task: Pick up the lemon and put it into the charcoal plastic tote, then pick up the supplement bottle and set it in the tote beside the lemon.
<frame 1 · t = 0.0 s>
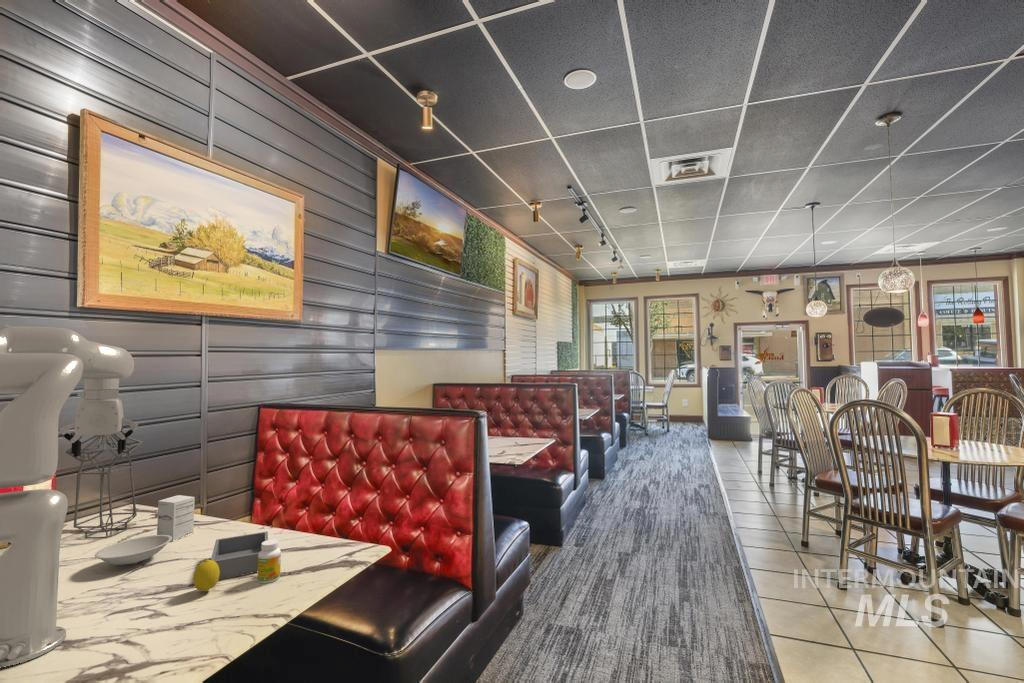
hand: (99, 454, 132), 31 cm above the table, tool pointing down, fingers open, 9 cm apart
lemon: (206, 592, 115), on the table
dish: (134, 563, 131), on the table
supplement bottle: (268, 579, 121), on the table
tote: (240, 563, 131), on the table
geometric lantern: (102, 534, 154), on the table
supplement box: (175, 537, 151), on the table
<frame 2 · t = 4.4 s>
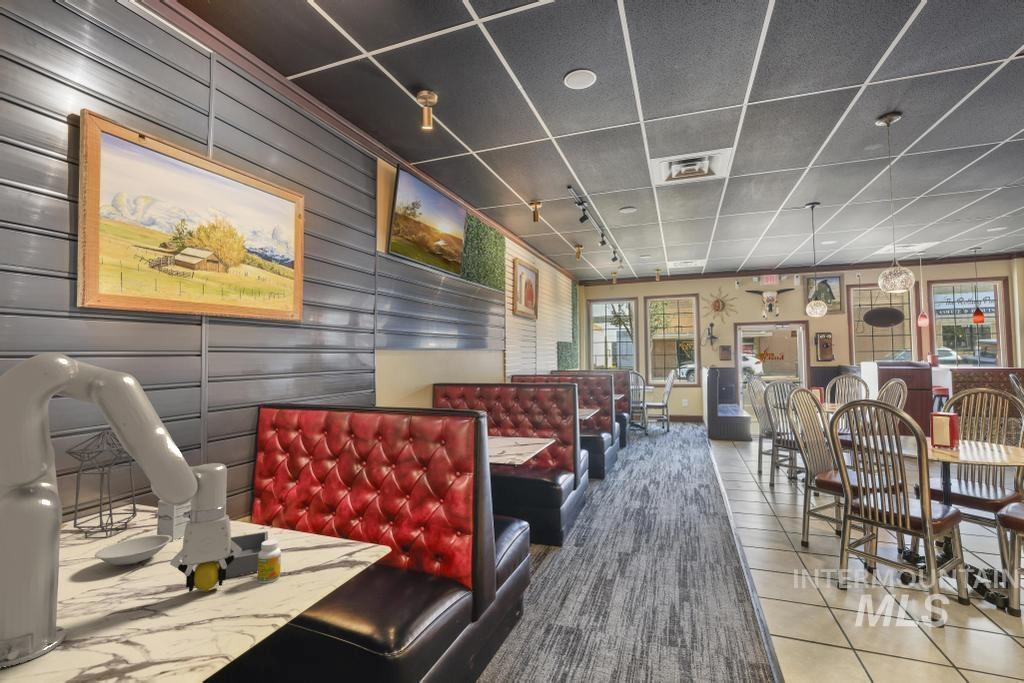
hand: (206, 585, 115), 2 cm above the table, tool pointing down, fingers closed on lemon, 5 cm apart
lemon: (206, 592, 115), on the table, touching gripper
everything else where it was.
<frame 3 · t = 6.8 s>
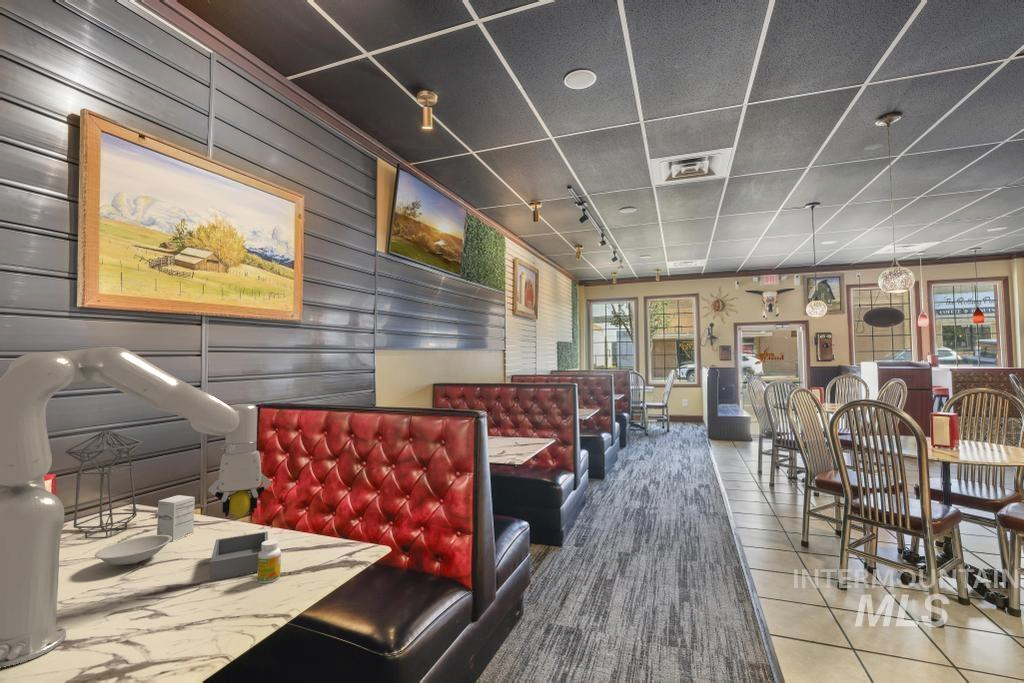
hand: (240, 512, 127), 16 cm above the table, tool pointing down, fingers closed on lemon, 5 cm apart
lemon: (239, 518, 127), point 14 cm above the table, touching gripper
everything else where it was.
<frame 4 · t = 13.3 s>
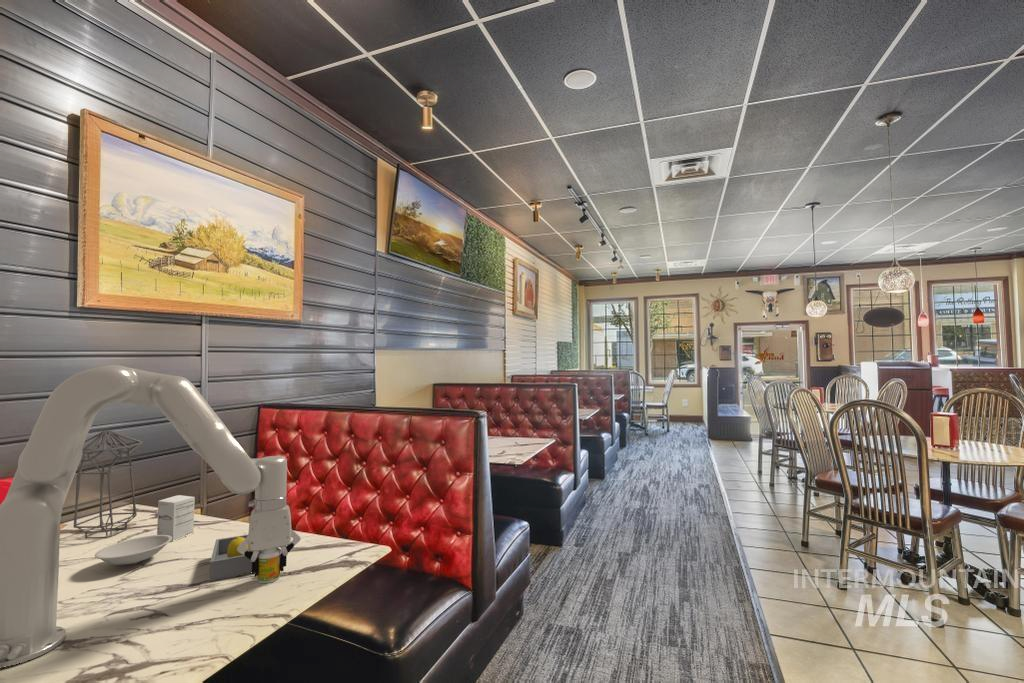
hand: (269, 571, 121), 2 cm above the table, tool pointing down, fingers closed on supplement bottle, 5 cm apart
lemon: (239, 566, 127), point 1 cm above the table, touching tote
supplement bottle: (268, 579, 121), on the table, touching gripper
everything else where it was.
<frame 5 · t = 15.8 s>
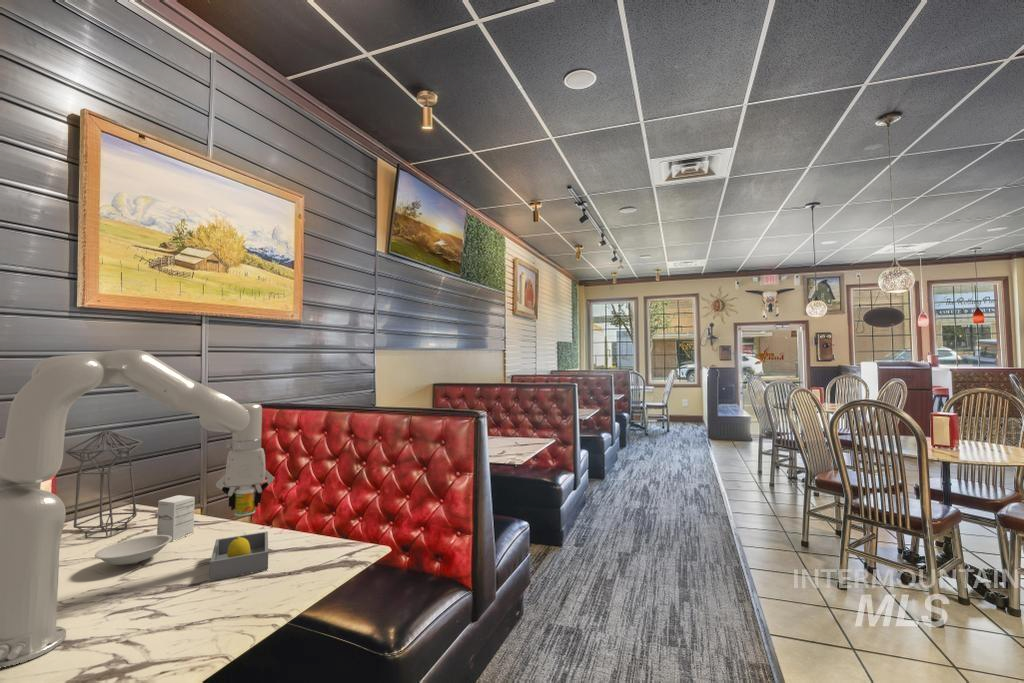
hand: (244, 506, 134), 15 cm above the table, tool pointing down, fingers closed on supplement bottle, 5 cm apart
supplement bottle: (244, 514, 134), point 13 cm above the table, touching gripper
everything else where it was.
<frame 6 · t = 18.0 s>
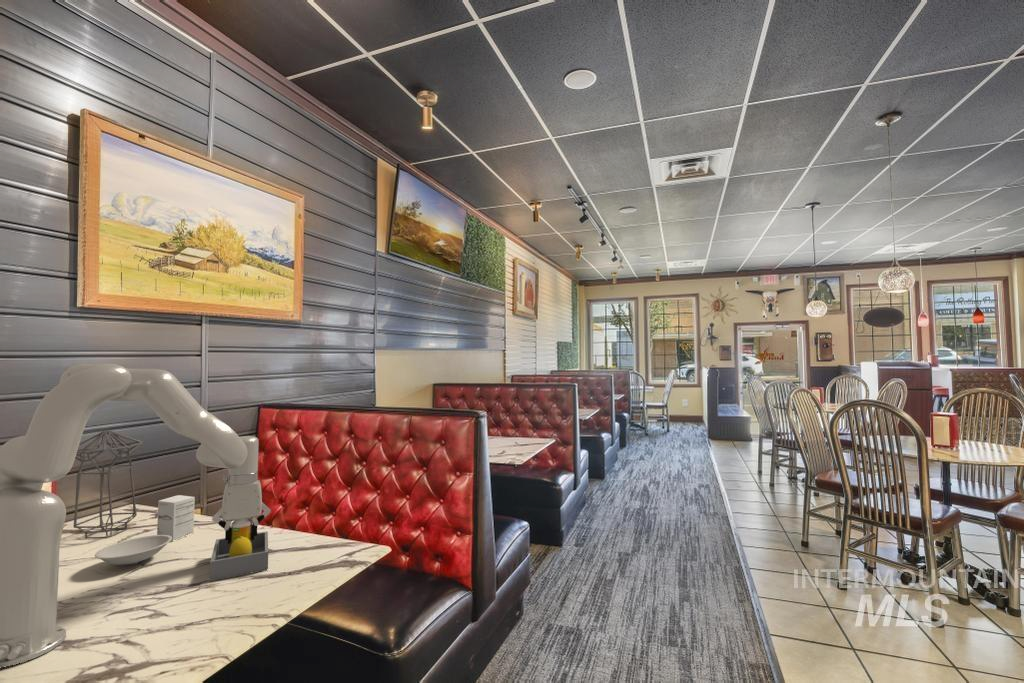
hand: (241, 539, 135), 5 cm above the table, tool pointing down, fingers closed on supplement bottle, 5 cm apart
supplement bottle: (241, 547, 135), point 3 cm above the table, touching gripper
everything else where it was.
when the fingers open (5 cm above the table, at t = 18.3 s): supplement bottle drops 2 cm, resting on tote.
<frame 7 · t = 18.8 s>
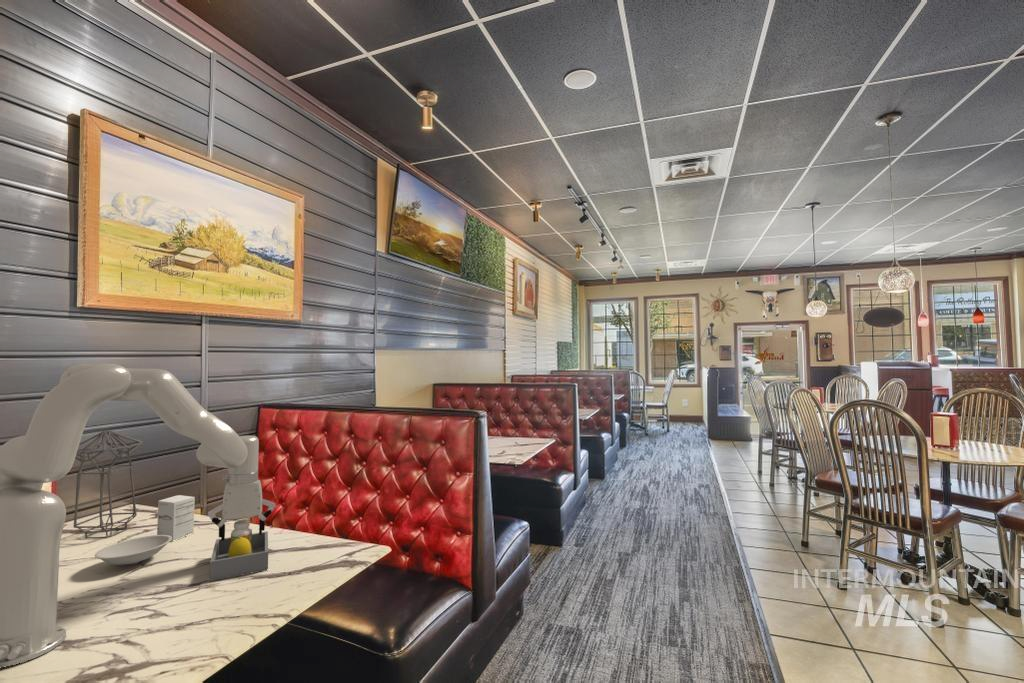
hand: (242, 536, 135), 6 cm above the table, tool pointing down, fingers open, 9 cm apart
supplement bottle: (240, 555, 134), point 1 cm above the table, touching tote
everything else where it was.
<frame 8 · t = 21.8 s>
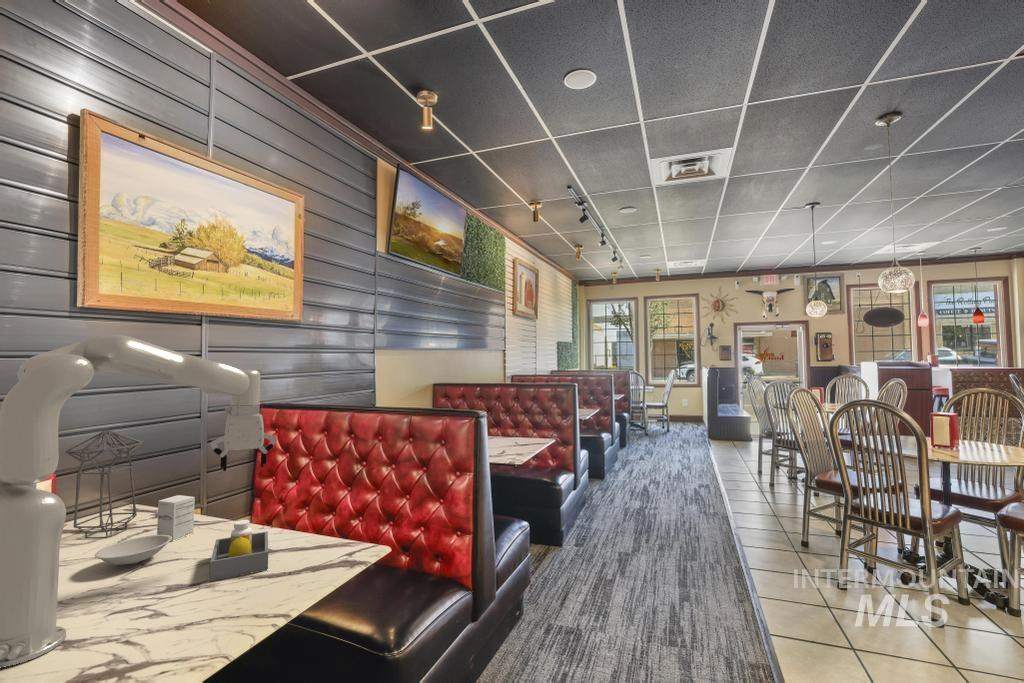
hand: (243, 468, 136), 26 cm above the table, tool pointing down, fingers open, 9 cm apart
nothing on the table moved.
at the end: lemon inside the target area on the tote (4.1 cm from its centre), point 0.6 cm above the tote's base; supplement bottle inside the target area on the tote (3.9 cm from its centre), point 0.6 cm above the tote's base; the gripper is holding nothing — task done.
